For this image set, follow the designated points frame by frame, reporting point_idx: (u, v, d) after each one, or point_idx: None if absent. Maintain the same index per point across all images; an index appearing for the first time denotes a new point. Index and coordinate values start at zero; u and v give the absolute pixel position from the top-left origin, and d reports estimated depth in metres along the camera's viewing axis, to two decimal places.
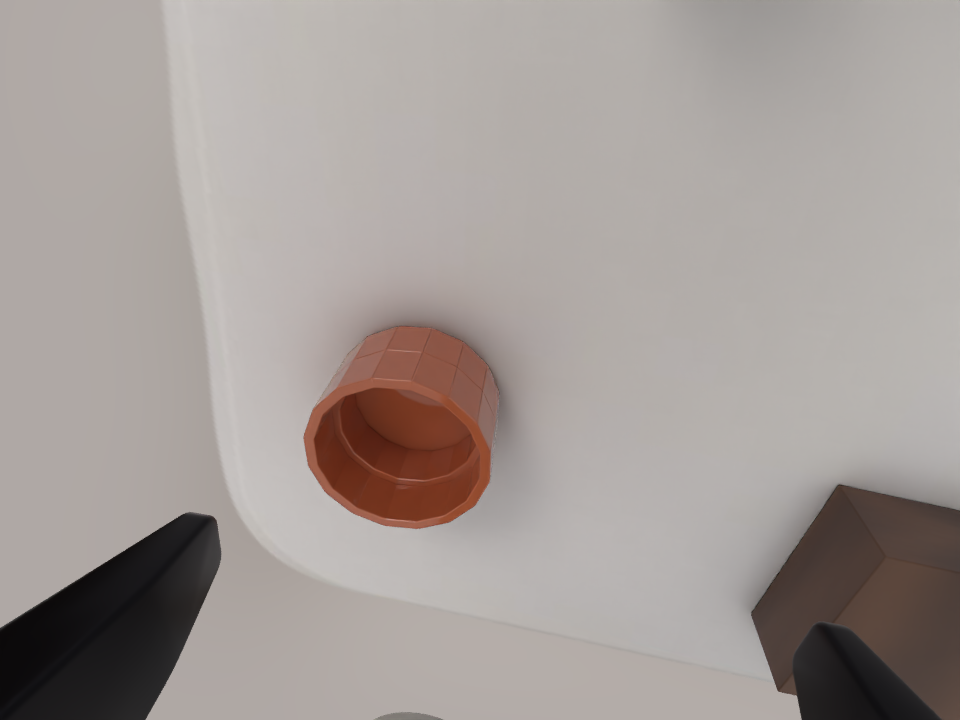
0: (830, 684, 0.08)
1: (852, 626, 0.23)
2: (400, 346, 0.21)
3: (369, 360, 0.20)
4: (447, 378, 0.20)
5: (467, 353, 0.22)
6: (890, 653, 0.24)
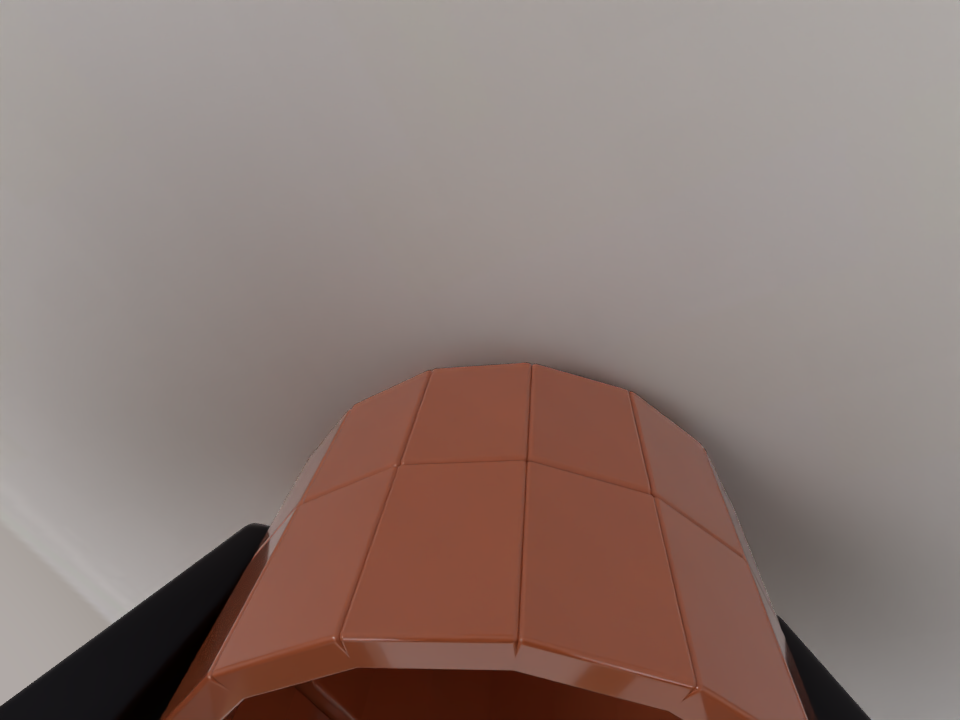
0: None
1: None
2: (339, 472, 0.07)
3: (256, 567, 0.06)
4: (498, 532, 0.05)
5: (553, 390, 0.07)
6: None
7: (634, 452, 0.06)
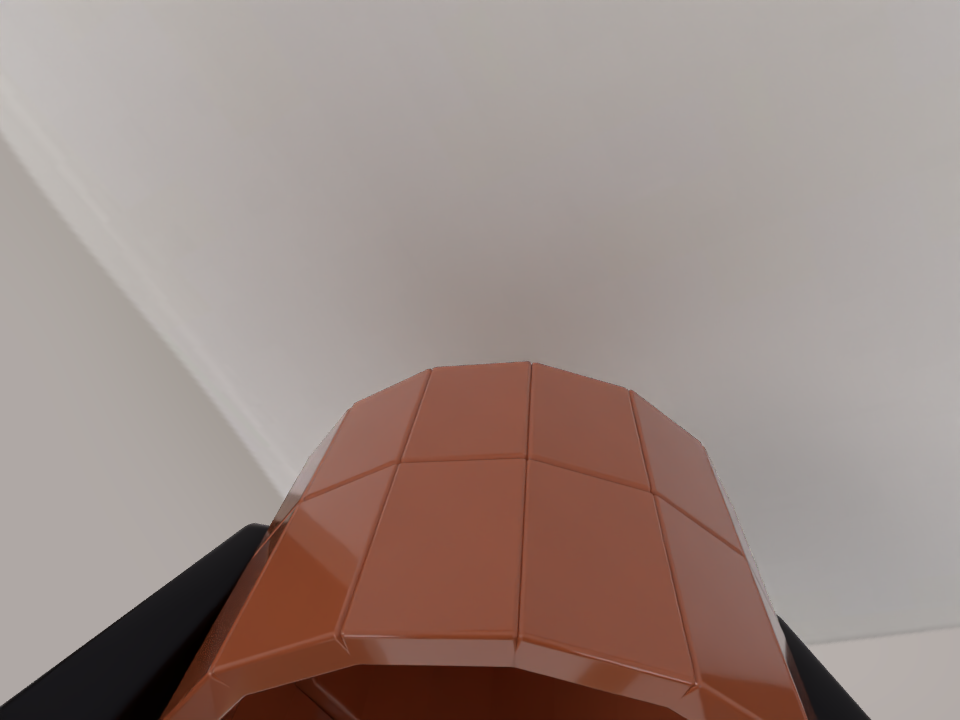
0: None
1: None
2: (340, 470, 0.07)
3: (256, 565, 0.06)
4: (498, 529, 0.05)
5: (553, 389, 0.07)
6: None
7: (634, 450, 0.06)
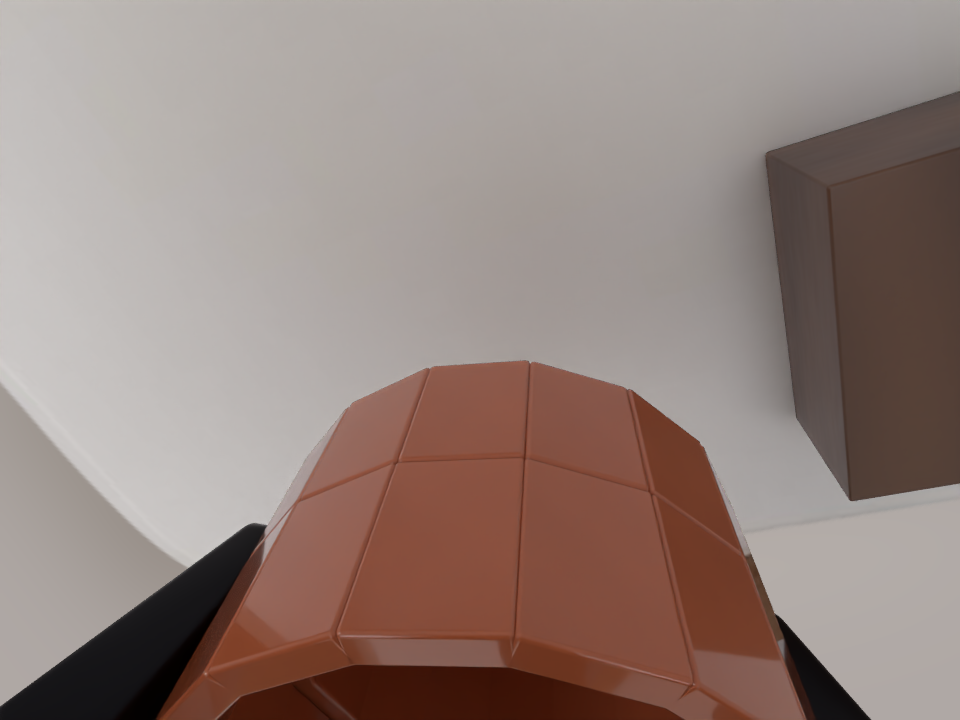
0: None
1: (875, 339, 0.13)
2: (337, 470, 0.06)
3: (254, 565, 0.06)
4: (495, 529, 0.05)
5: (551, 388, 0.07)
6: None
7: (632, 450, 0.06)
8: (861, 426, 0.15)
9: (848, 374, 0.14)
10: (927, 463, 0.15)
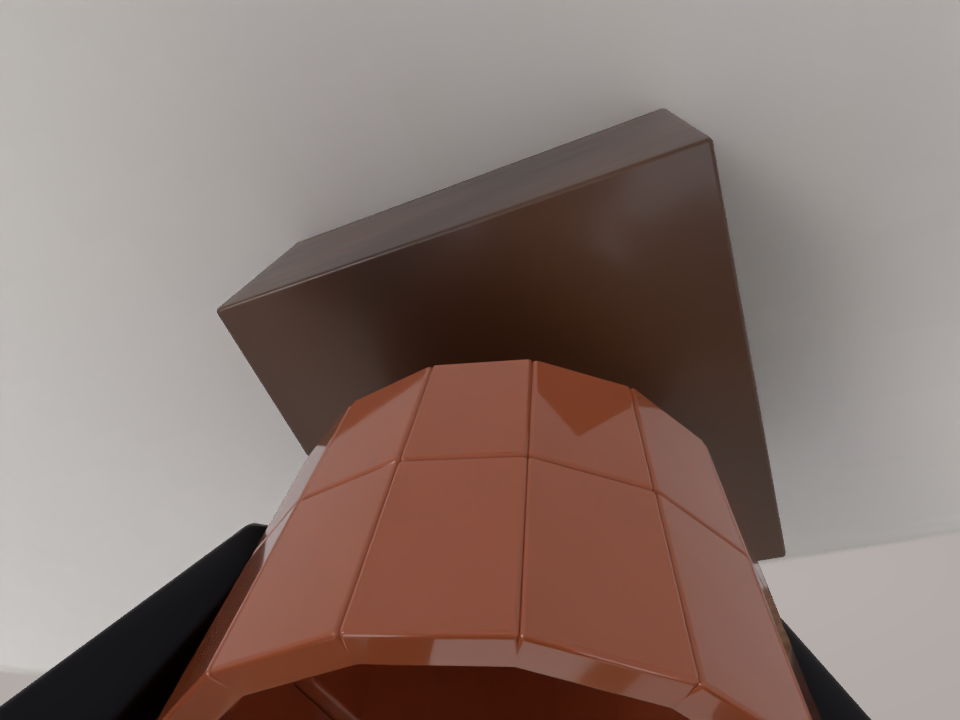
0: None
1: None
2: (339, 469, 0.06)
3: (256, 564, 0.06)
4: (499, 527, 0.05)
5: (554, 387, 0.07)
6: None
7: (636, 448, 0.06)
8: None
9: None
10: None
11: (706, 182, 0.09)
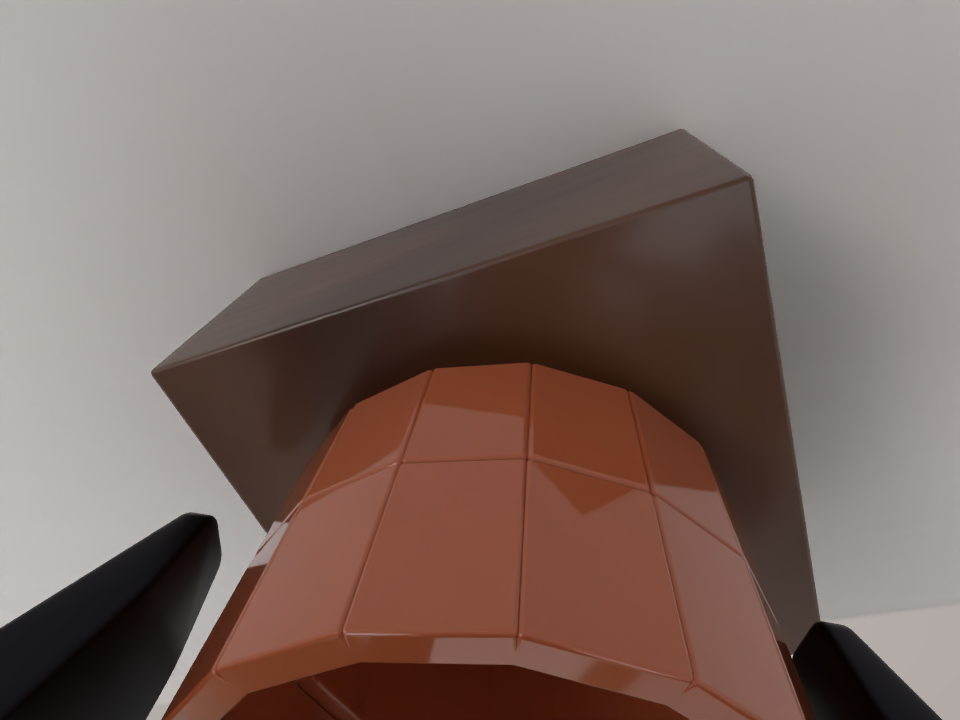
0: (829, 684, 0.08)
1: None
2: (341, 471, 0.07)
3: (259, 564, 0.06)
4: (498, 529, 0.05)
5: (553, 390, 0.07)
6: None
7: (633, 451, 0.06)
8: None
9: None
10: None
11: (744, 229, 0.07)
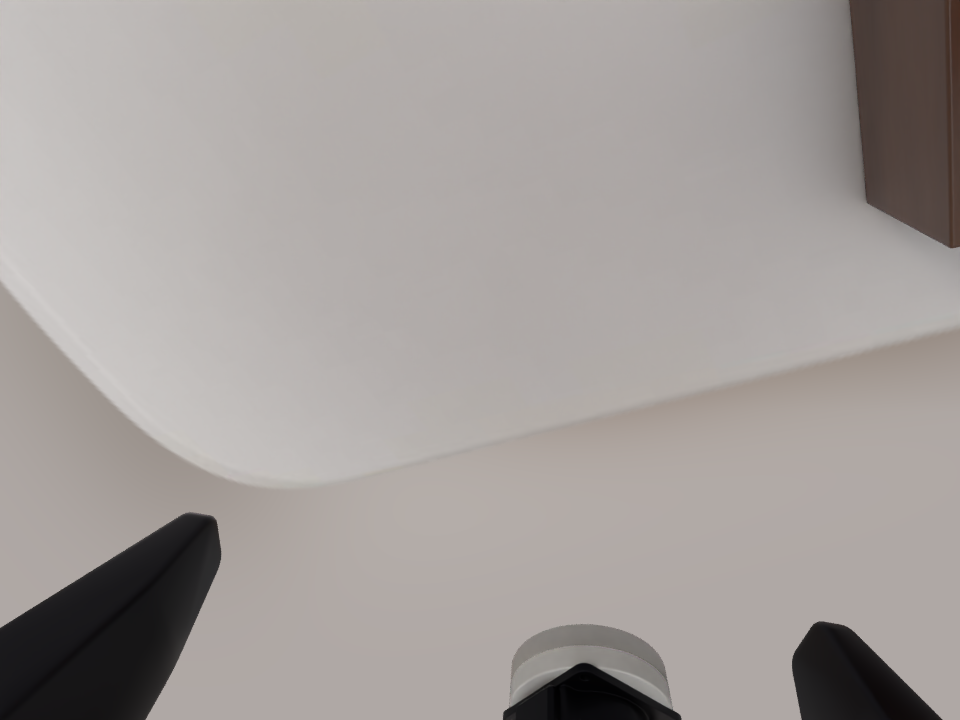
0: (830, 684, 0.08)
1: None
2: None
3: None
4: None
5: None
6: None
7: None
8: None
9: (956, 48, 0.11)
10: None
11: None
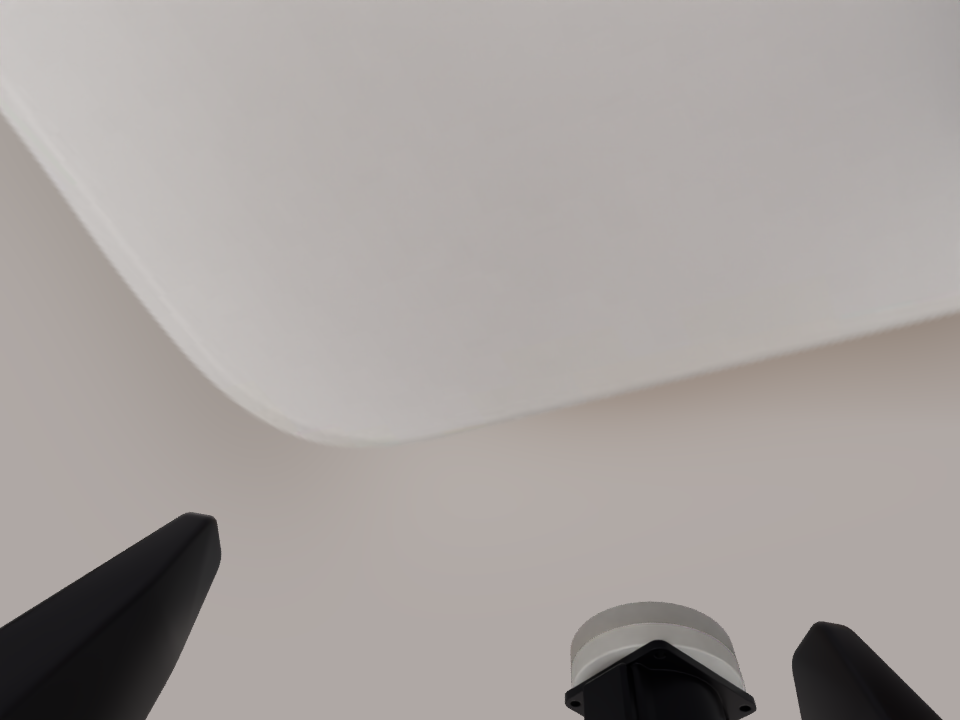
0: (830, 684, 0.08)
1: None
2: None
3: None
4: None
5: None
6: None
7: None
8: None
9: None
10: None
11: None
